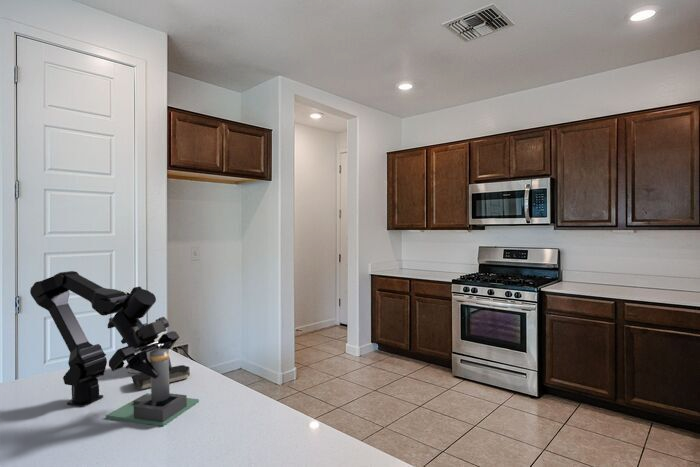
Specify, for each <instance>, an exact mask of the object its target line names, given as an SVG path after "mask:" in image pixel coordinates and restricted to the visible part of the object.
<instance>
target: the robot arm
mask: <svg viewBox="0 0 700 467" xmlns="http://www.w3.org/2000/svg"><path fill="white" fill-rule="evenodd" d="M70 291H71V292H72V293H74V294H75V295H77V296H79V297H81V298H83V299H85V301H87V302H90V304H91V309H93V311H95V312H96V313H98V314H99V315H101V316H103V317H105V316H109V315H113V314H114V315H113V317H109V318H108V323H107V329H112V328H115V329H116V330H117V332H118V334H120V336H121V338H122V339H121V340H120V342H121V344H122V345H124V344H127V345H126V346H124V347H122V348H118V349H117V350H116V351H115V353H113V355H112V356H111V357H110V359H109V360H107V357H106V356H107V354H106V353H105V352H104V350H103V349H102V348H103V347H102V346H101V345H100V343H97V344H92V343H90V342H89V340H88V338H87V336H86V334H85V332H84V330H83V328H82V326H81V325H80V323H79V321H78V319H77V318H76V315H75V313H74V311H73V310H72V308H71V307H70V304H69V297H70ZM29 292H30V296H31V297H32V299H33V300H34V302H35V303H36V305H37V306H39V307H41V308H43V309H45V310H47V311H48V312H49V314H50V316H51V319H52V320H53V322H54V324H55V326H56V328H57V330H58V331H59V334H60V335H61V337H62V339H63V342H64V343H65V345H66V347H67V349H68V351H69V358H68V362H67V363H68V367H69V369H68V370H67V372H65V373H64V375H63V376H62V379H63V383H64V385H68V386H71V400H69V401H66V405H70V406H77V407H86V406H88V405H90V404H92V403H94V402H96V401H98V400H101V399H102V398H104V395H103V394H100V384H99V377H102V376H104V375H105V371H106V369H107V364H108V366H109V368H110V369H111V371H112V372H115V371H117V370H120V369H123V367H124V365H125V362H124V361H126V363H127V365H126V366H125V368H126V369H127V370H129V368H131V369H133V370H136V371H139V372H141V373H144V374H146V375H148V376H150V377H152V378H157V377H158V374H157V372H156V371H155V369H154V368H153V366H152V365H151V363H150V362H149V360H148V359H147V352H149V351H153V350H157V349H168V350H170V349H171V348H172V347H173V346H174V344H175V343H176V342H177V341H178V340H179V339H180V336H179V334H178V333H177V332H176V331H168V330H167V329H168V328H169V327H170V324H169V321H168V320H167V318H166V317H164V316H162V317H159V318H157V319H155V321H153V322H150V323H146V322H145V323H143V322H142V321H141V320H140V319H142V318H144V317H145V315H147V313H148V312H149V311H150V310H151V308H152V307H153V305H154V304H155V303H156V301H157V298H156V296H155V294H154V293H153V292H151V291H149V290H147V289H144V288H142V287H141V286H135V287H133V288H132V289H131V291H130V293H128V294H127V293H126V292H125V291H122V290H119V289H115V288H106V287H103V286H101V285H99V284H97V283H96V282H94V281H91V280H90V279H88V278H86V277H84V276H82V275H80V274H79V273H78V271H74V270H70V271H62V272H58V273H56V274H55V275H53V276H50V277H47V278H45V279H42V280H40V281H39V280H38V281H35V282H34V283H33V284H32V286H31V287H30V291H29ZM163 331H164V332H165V334H163V335H162V336H161V337H160V339H159V340H158V341H156V342H155V341H154V340H155V339H157V338H158V334H159V333H161V332H163ZM167 331H168V332H167ZM172 367H173V366H172V363H171V359H170V357H169V372H171V371H172ZM141 373H140V374H141Z"/></svg>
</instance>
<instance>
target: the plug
mask: <svg viewBox="0 0 700 467" xmlns="http://www.w3.org/2000/svg"><path fill="white" fill-rule="evenodd" d="M169 350H170V349H169ZM169 350H168V349H157V350H153V351H151V352H150V363H151V365H152V366H153V368H154V369H155V371H156V372H157V374H158V377H157V378H152V377H151V387H150V394H151V400H152V401H154V402H159V401H164V400H166V399H168V398H169V397H170V393H171V392H170V391H171V390H170V389H171V388H170V382H169V358H170V352H169Z"/></svg>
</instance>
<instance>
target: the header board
mask: <svg viewBox="0 0 700 467" xmlns="http://www.w3.org/2000/svg"><path fill="white" fill-rule="evenodd" d="M199 402H200V399H198V398H191V397H187V394H180V393H179V394H178V393H171V392H170V397H169V398H168V399H166V400H164V401H159V402H154V401H152V400H151V393H148V392H147V393H145V394H142V395H141V396H139V397H137V398H135V399H133V400H132V401H129V402H128V403H126V404H124V405H122V406H120V407H118V408H116V409H114V411H111V412H109V413H107V414H106V415H105V419H107V420H108V419H109V420H114V421H115V420H116V421H121V422H122V421H124V422H129V423H136V424H137V423H138V424H142V425H143V424H144V425H151V426H157V427H159V426H160V427H165V426H166V425H167V423H168V424H169V423H171V422H172V421H173V419H174V418H175V419H176V418H178V417H179V416H181V415H183V414H184V413H185V412H186V410H187V411H188V410H190V409H191V408H192V407H194V406H195V405H197V404H198V403H199ZM196 403H197V404H196ZM184 411H185V412H184ZM183 412H184V413H183ZM180 414H181V415H180ZM177 416H178V417H177ZM175 419H174V420H175ZM170 421H171V422H170Z"/></svg>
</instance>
